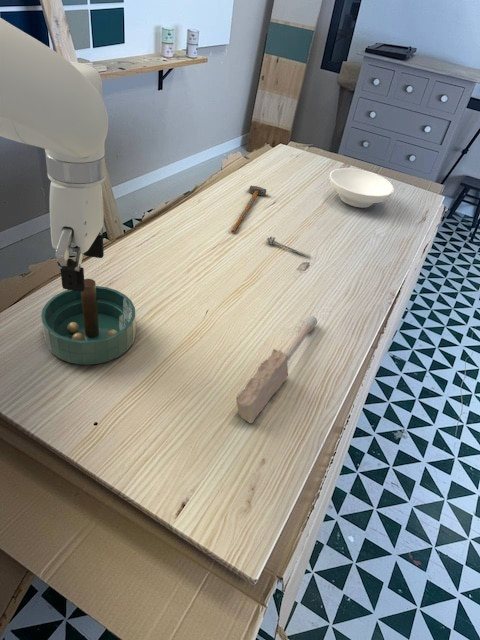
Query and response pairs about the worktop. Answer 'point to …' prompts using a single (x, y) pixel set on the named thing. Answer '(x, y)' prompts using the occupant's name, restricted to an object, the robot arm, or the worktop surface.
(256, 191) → the sledgehammer
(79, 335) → the bead
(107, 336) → the bead
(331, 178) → the bowl
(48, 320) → the mixing bowl
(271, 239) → the screw
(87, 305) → the stick
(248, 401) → the tan handled block
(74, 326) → the bead
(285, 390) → the worktop surface
